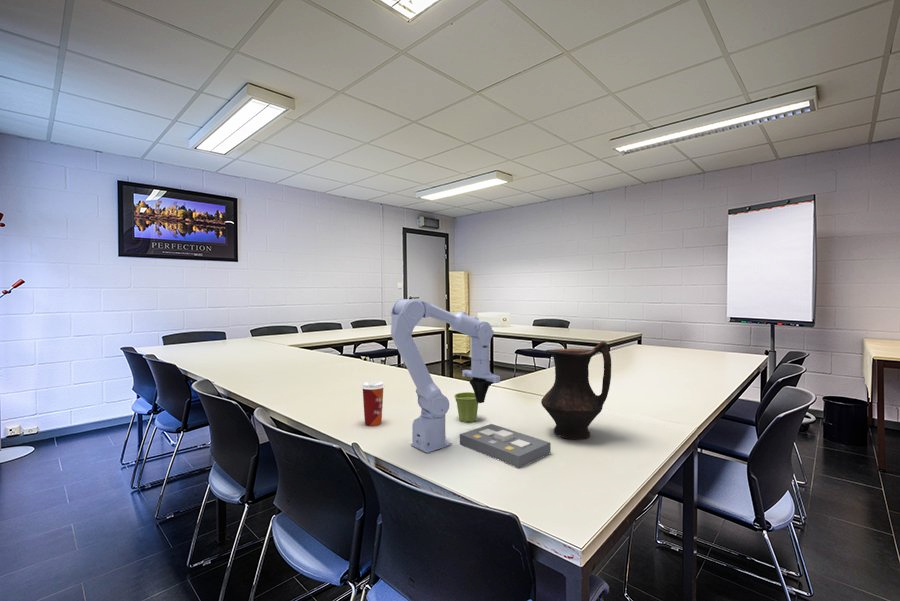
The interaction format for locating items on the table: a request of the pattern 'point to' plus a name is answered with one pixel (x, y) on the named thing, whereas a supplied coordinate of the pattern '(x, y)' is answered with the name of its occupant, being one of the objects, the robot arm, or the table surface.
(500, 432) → the middle button
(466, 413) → the plant pot
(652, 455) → the table surface
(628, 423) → the table surface
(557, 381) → the jug
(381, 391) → the paper cup
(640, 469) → the table surface
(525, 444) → the end button
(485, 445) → the button board
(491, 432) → the end button
